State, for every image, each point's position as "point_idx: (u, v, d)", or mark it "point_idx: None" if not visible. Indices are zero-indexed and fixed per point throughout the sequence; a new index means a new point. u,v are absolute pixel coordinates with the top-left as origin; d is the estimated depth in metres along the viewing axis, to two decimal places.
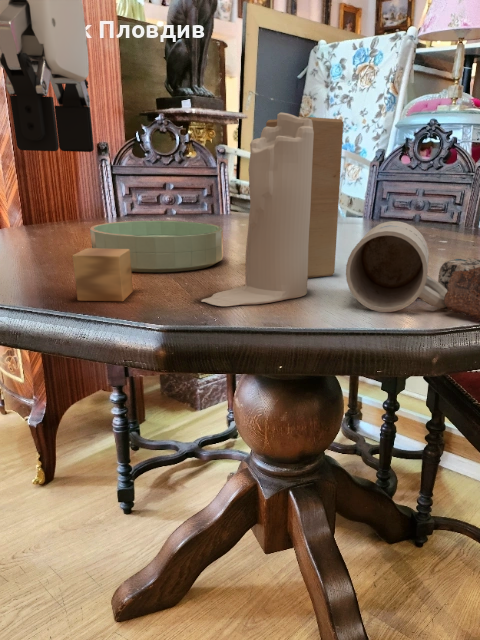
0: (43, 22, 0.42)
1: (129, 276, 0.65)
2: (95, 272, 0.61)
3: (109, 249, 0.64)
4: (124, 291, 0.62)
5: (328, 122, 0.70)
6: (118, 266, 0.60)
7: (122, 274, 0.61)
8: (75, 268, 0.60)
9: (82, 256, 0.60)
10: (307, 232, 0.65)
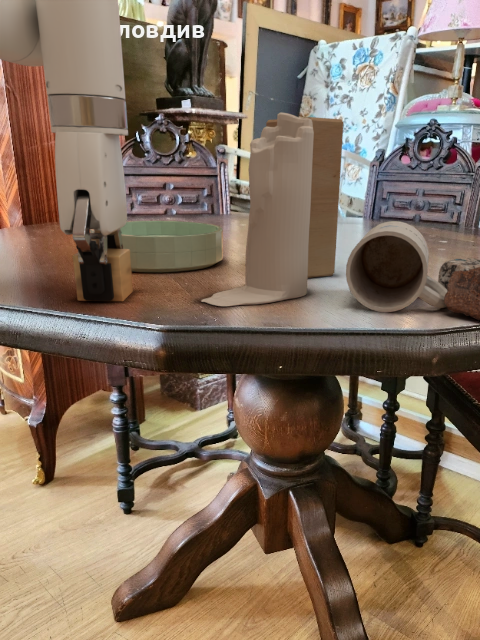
0: (100, 205, 0.56)
1: (129, 276, 0.65)
2: None
3: (109, 249, 0.64)
4: (124, 291, 0.62)
5: (328, 122, 0.70)
6: (118, 266, 0.60)
7: (122, 274, 0.61)
8: (75, 268, 0.60)
9: None
10: (307, 232, 0.65)
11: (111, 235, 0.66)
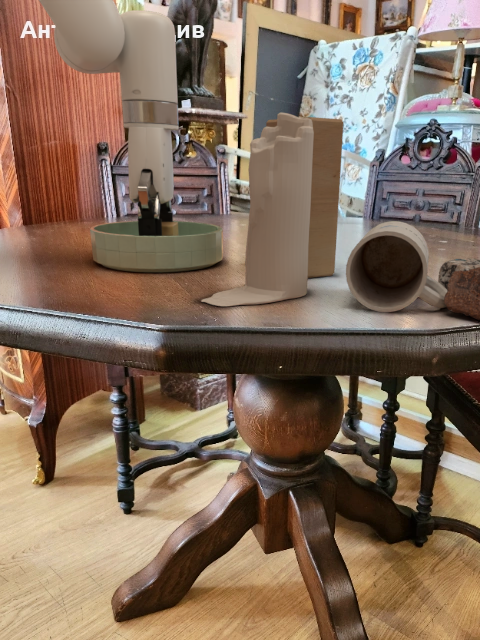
0: (159, 181, 0.76)
1: None
2: None
3: (163, 222, 0.85)
4: None
5: (328, 122, 0.70)
6: (172, 233, 0.82)
7: None
8: None
9: None
10: (307, 232, 0.65)
11: None
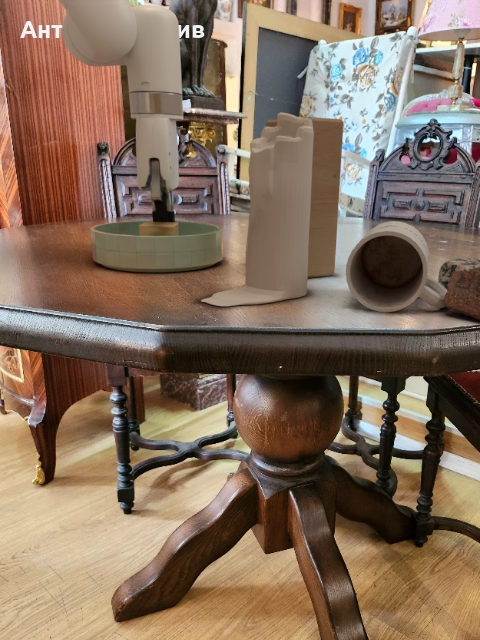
0: (166, 169, 0.80)
1: None
2: None
3: (163, 222, 0.85)
4: None
5: (328, 122, 0.70)
6: (173, 233, 0.81)
7: None
8: (141, 235, 0.81)
9: (146, 226, 0.81)
10: (307, 232, 0.65)
11: None
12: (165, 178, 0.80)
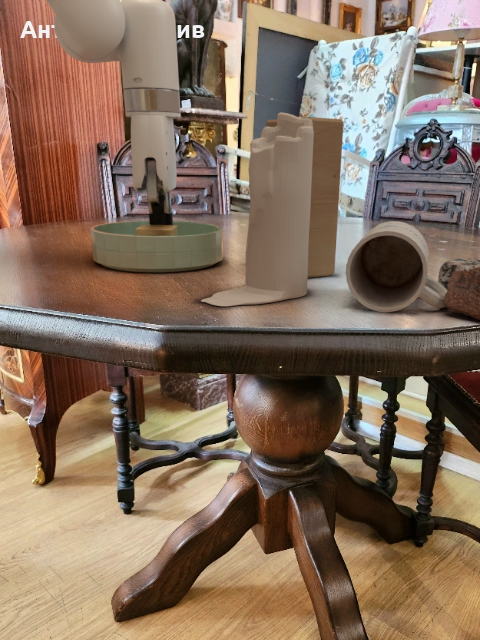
0: (163, 169, 0.76)
1: None
2: None
3: (161, 225, 0.81)
4: None
5: (328, 122, 0.70)
6: None
7: None
8: None
9: (143, 229, 0.77)
10: (307, 232, 0.65)
11: None
12: (162, 179, 0.77)
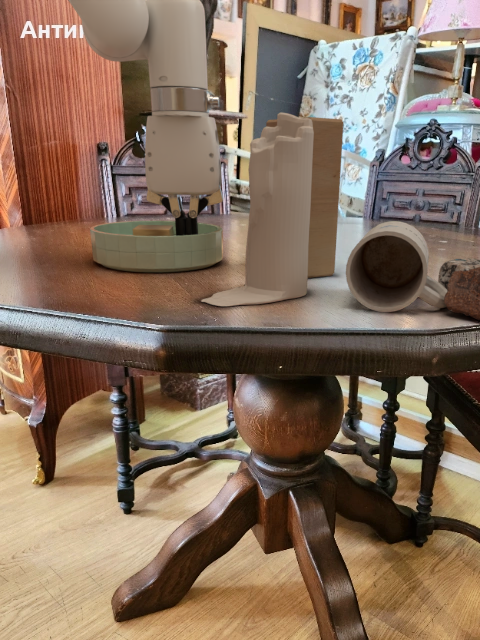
0: (145, 170, 0.76)
1: None
2: None
3: (157, 225, 0.81)
4: None
5: (328, 122, 0.70)
6: None
7: None
8: None
9: (140, 229, 0.77)
10: (307, 232, 0.65)
11: None
12: (146, 179, 0.77)
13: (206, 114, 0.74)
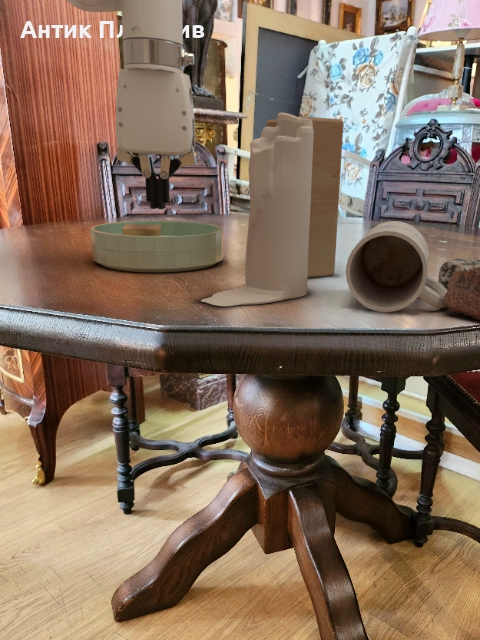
0: None
1: None
2: None
3: (145, 224, 0.81)
4: None
5: (328, 122, 0.70)
6: None
7: None
8: None
9: (130, 229, 0.77)
10: (307, 232, 0.65)
11: None
12: (116, 136, 0.74)
13: (180, 70, 0.72)
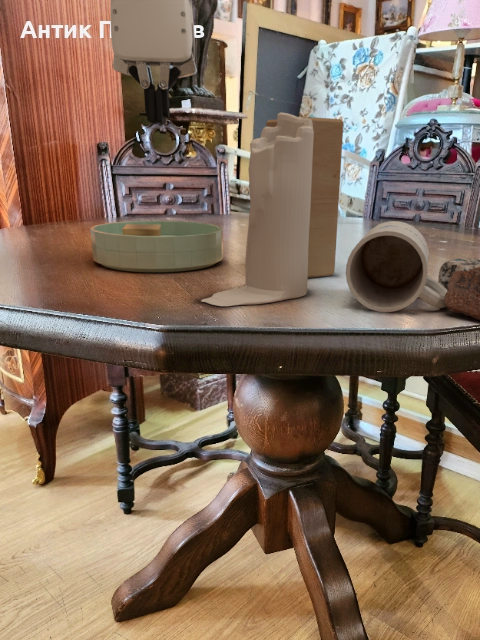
0: (111, 31, 0.70)
1: None
2: None
3: (145, 224, 0.81)
4: None
5: (328, 122, 0.70)
6: None
7: None
8: None
9: (130, 229, 0.77)
10: (307, 232, 0.65)
11: None
12: None
13: None
